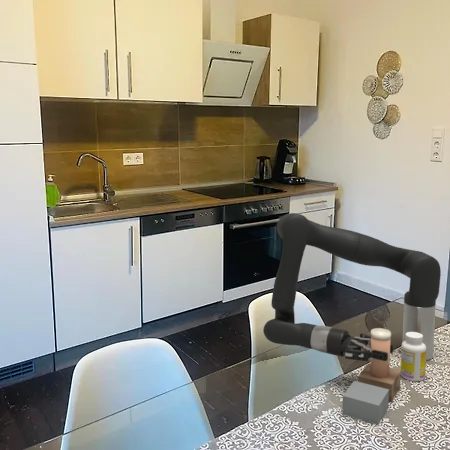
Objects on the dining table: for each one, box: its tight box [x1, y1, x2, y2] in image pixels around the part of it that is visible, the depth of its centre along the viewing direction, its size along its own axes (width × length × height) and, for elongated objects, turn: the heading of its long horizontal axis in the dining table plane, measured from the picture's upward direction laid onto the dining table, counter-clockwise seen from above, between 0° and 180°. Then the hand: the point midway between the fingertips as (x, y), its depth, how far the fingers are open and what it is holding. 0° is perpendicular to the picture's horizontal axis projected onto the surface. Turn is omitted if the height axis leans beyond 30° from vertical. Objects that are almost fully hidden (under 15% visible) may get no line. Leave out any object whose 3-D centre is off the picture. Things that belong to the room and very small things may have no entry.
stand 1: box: [357, 363, 402, 403], centre depth 130 cm, size 9×9×5 cm
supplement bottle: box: [400, 332, 427, 382], centre depth 137 cm, size 7×7×13 cm
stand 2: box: [342, 380, 390, 426], centre depth 120 cm, size 9×9×5 cm
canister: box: [369, 327, 392, 378], centre depth 129 cm, size 5×5×12 cm
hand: (390, 353), depth 127 cm, fingers closed on canister, 5 cm apart
